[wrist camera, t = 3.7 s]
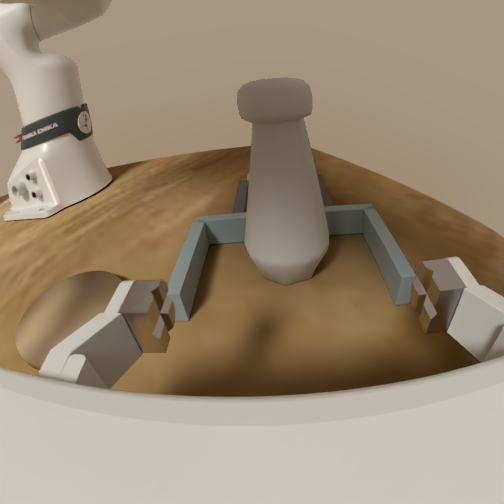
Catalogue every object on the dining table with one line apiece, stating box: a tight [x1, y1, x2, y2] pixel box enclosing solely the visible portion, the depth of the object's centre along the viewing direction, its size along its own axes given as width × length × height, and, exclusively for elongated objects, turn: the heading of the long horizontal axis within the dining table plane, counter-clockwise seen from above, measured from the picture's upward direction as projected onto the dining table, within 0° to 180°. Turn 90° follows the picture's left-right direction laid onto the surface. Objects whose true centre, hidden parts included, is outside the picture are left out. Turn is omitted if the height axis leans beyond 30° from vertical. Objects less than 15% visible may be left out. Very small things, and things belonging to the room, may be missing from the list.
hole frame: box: [233, 175, 334, 213], centre depth 31 cm, size 9×9×2 cm
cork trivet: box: [16, 271, 122, 370], centre depth 20 cm, size 10×10×1 cm
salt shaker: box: [237, 78, 329, 285], centre depth 19 cm, size 6×6×13 cm
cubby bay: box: [167, 204, 416, 321], centre depth 22 cm, size 10×15×2 cm, turn 88°
